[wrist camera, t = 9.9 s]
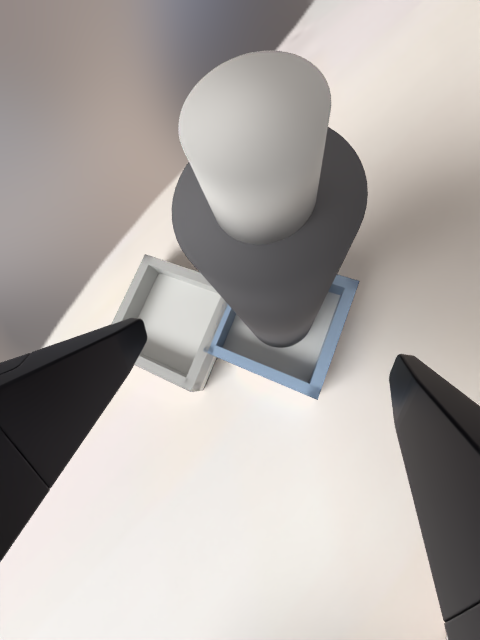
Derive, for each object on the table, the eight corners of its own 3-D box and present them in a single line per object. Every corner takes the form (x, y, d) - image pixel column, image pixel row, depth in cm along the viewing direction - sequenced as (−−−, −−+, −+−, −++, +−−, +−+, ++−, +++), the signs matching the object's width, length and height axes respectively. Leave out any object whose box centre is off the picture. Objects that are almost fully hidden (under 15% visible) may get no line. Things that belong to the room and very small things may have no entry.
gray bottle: (288, 360, 18) (288, 305, 3) (237, 324, 19) (71, 166, 4) (325, 308, 18) (476, 43, 4) (272, 275, 19) (224, -23, 5)
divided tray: (300, 435, 17) (301, 444, 15) (120, 351, 21) (99, 348, 19) (351, 293, 19) (359, 281, 16) (173, 239, 23) (159, 223, 20)
